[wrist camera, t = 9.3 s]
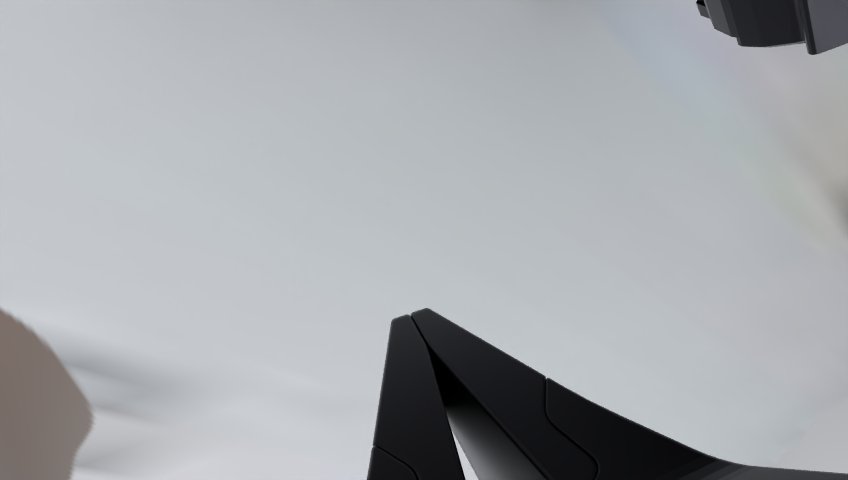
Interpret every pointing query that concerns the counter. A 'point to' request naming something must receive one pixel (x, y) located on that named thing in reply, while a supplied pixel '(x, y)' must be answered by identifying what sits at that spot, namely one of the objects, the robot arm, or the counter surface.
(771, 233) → the counter surface
